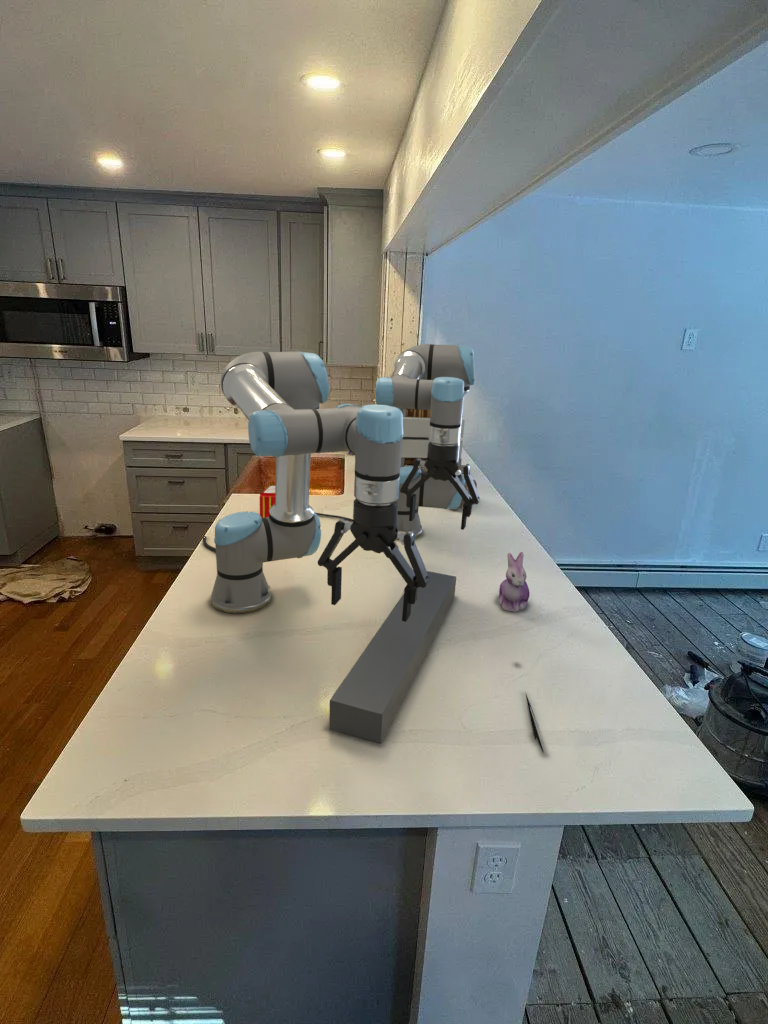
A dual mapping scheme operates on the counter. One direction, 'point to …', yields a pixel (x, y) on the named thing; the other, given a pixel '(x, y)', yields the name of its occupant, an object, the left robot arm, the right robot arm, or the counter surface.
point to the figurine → (514, 585)
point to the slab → (390, 663)
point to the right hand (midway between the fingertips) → (437, 523)
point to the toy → (267, 501)
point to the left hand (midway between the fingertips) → (370, 609)
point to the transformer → (418, 436)
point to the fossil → (468, 492)
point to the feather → (534, 723)
